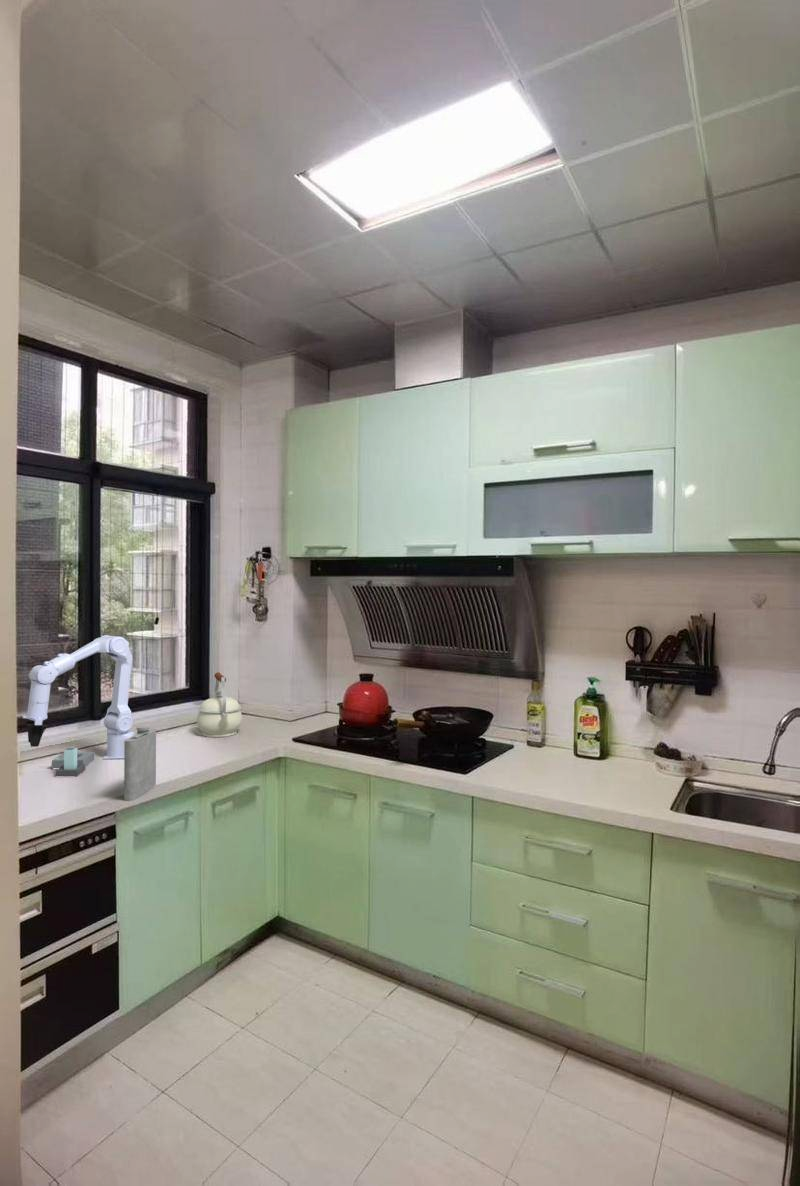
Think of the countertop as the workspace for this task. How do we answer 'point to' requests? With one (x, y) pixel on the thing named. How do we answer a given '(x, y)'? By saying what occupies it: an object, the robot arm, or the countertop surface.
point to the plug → (70, 758)
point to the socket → (81, 759)
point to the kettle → (219, 713)
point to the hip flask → (139, 763)
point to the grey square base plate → (70, 771)
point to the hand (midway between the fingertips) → (33, 744)
